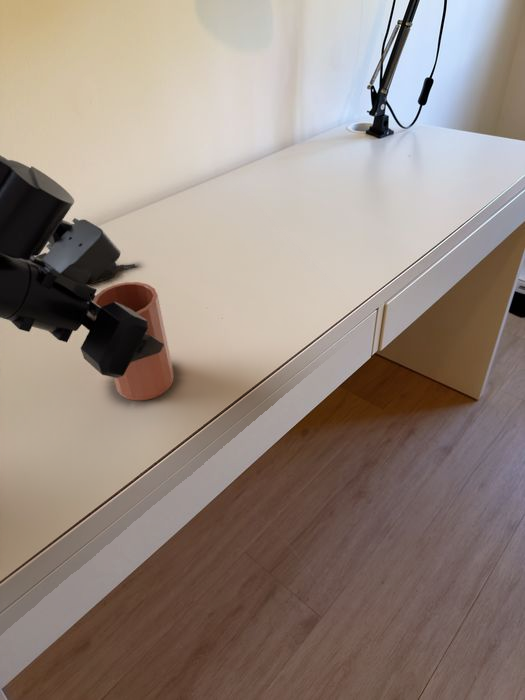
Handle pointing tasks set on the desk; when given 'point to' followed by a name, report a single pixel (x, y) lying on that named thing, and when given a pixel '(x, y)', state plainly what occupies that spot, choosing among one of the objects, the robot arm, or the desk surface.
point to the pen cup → (154, 370)
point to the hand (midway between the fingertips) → (138, 330)
